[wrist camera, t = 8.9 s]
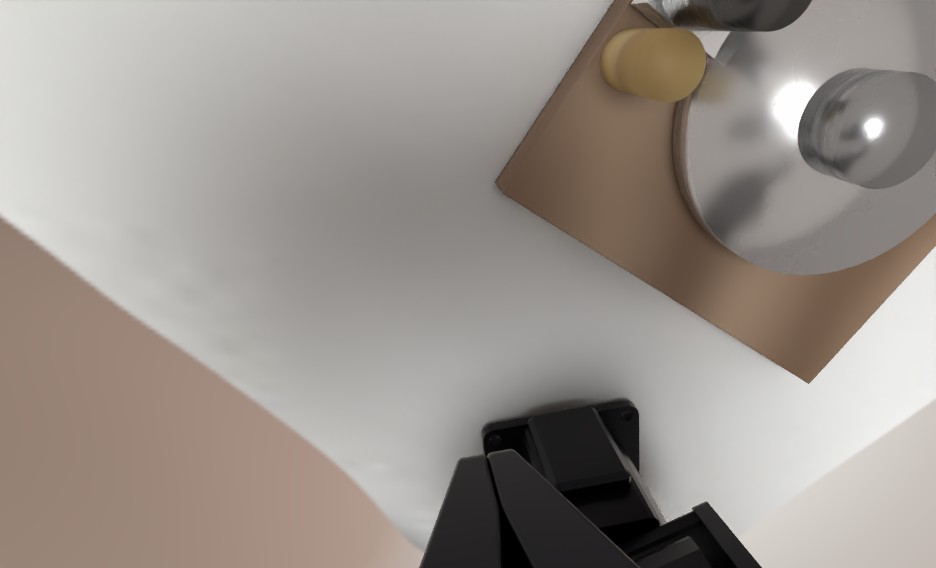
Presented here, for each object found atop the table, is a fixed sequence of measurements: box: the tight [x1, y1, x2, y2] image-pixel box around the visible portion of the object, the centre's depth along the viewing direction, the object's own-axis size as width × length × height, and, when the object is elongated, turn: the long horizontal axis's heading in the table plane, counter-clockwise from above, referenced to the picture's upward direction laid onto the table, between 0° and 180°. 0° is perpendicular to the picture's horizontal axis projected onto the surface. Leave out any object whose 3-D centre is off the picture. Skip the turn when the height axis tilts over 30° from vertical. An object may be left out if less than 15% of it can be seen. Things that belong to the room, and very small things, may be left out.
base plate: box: [495, 0, 936, 384], centre depth 19 cm, size 15×15×4 cm
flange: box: [631, 0, 936, 275], centre depth 17 cm, size 12×10×5 cm
